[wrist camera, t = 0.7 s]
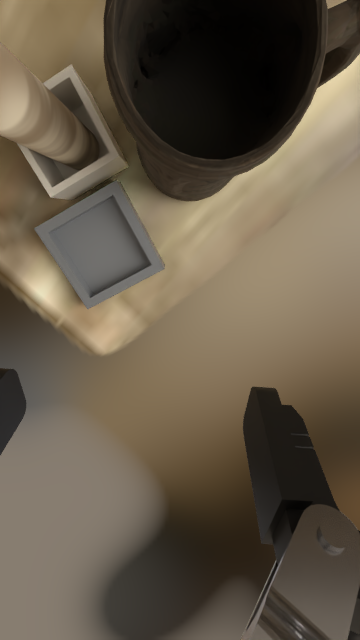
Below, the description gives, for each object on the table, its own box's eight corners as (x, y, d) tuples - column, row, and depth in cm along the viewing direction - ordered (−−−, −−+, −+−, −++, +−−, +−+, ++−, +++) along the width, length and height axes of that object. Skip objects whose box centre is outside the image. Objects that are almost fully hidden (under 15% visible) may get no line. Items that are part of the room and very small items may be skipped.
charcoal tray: (43, 227, 33) (33, 228, 31) (120, 182, 32) (116, 179, 29) (93, 303, 36) (87, 309, 34) (164, 265, 35) (164, 268, 32)
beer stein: (163, 222, 33) (176, 222, 14) (112, 123, 30) (39, -53, 11) (287, 153, 32) (483, 52, 13) (249, 41, 29) (438, -315, 10)
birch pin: (51, 138, 30) (-73, 62, 15) (85, 117, 29) (-9, 15, 14) (74, 177, 31) (-19, 144, 16) (106, 158, 30) (42, 104, 15)
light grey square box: (31, 132, 30) (-2, 113, 24) (91, 93, 29) (71, 64, 23) (72, 200, 32) (50, 197, 26) (129, 166, 31) (119, 155, 25)
